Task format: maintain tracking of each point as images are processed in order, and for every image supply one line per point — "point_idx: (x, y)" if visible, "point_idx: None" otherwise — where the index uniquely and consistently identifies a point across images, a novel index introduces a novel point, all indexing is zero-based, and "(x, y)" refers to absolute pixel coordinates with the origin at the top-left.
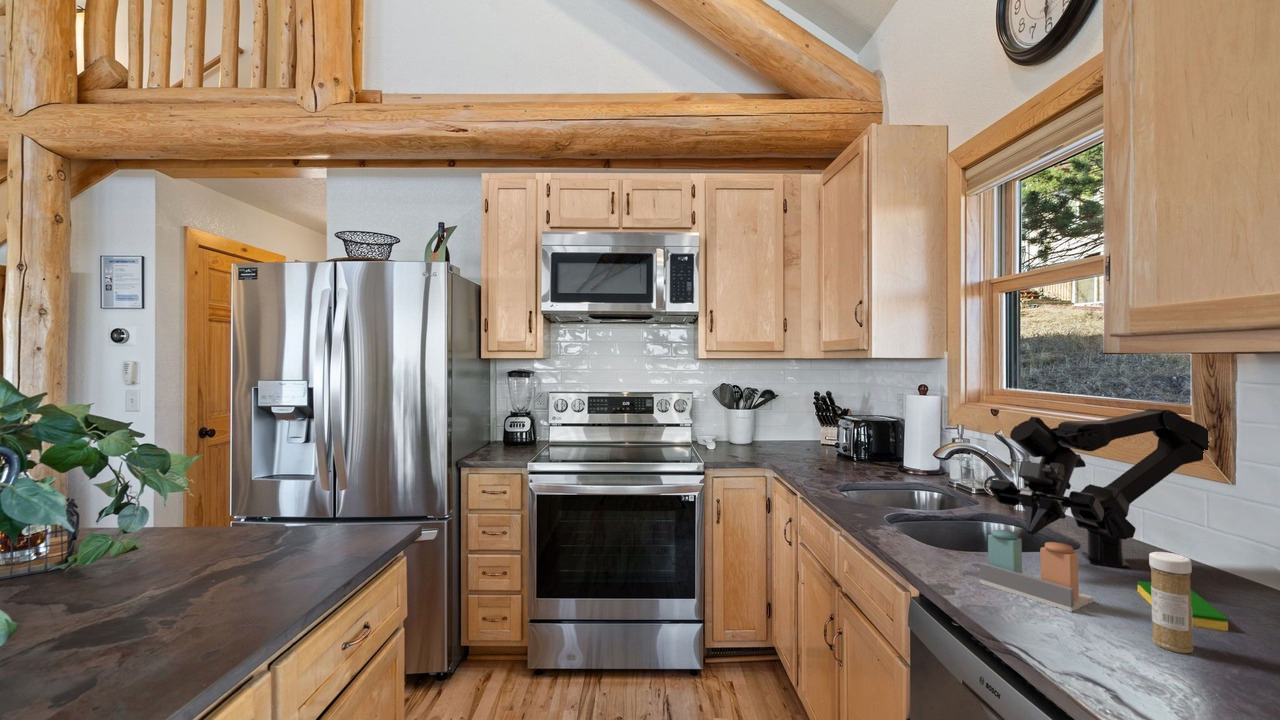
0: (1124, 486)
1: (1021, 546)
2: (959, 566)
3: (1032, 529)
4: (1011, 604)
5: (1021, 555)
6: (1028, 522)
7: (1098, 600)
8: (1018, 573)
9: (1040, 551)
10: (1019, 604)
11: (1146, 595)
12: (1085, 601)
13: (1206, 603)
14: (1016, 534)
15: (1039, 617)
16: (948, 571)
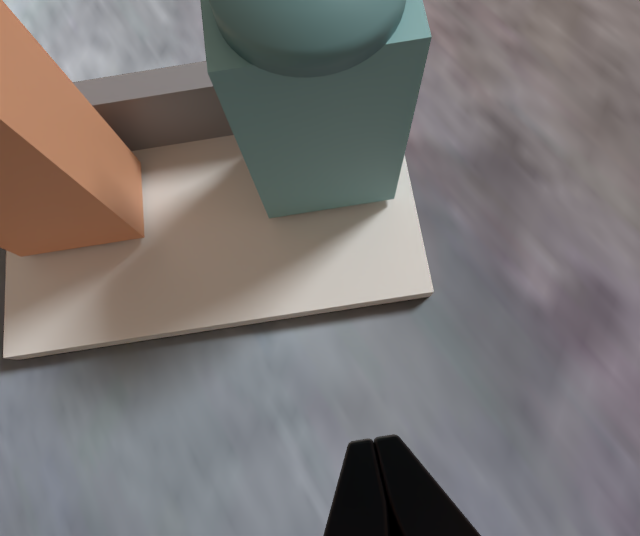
0: None
1: (226, 115)
2: (604, 198)
3: (343, 462)
4: (182, 29)
5: (240, 147)
6: (432, 522)
7: (11, 402)
8: (201, 78)
9: (9, 11)
10: (167, 55)
11: None
12: (7, 277)
13: None
14: (220, 10)
15: (68, 20)
16: (558, 93)
